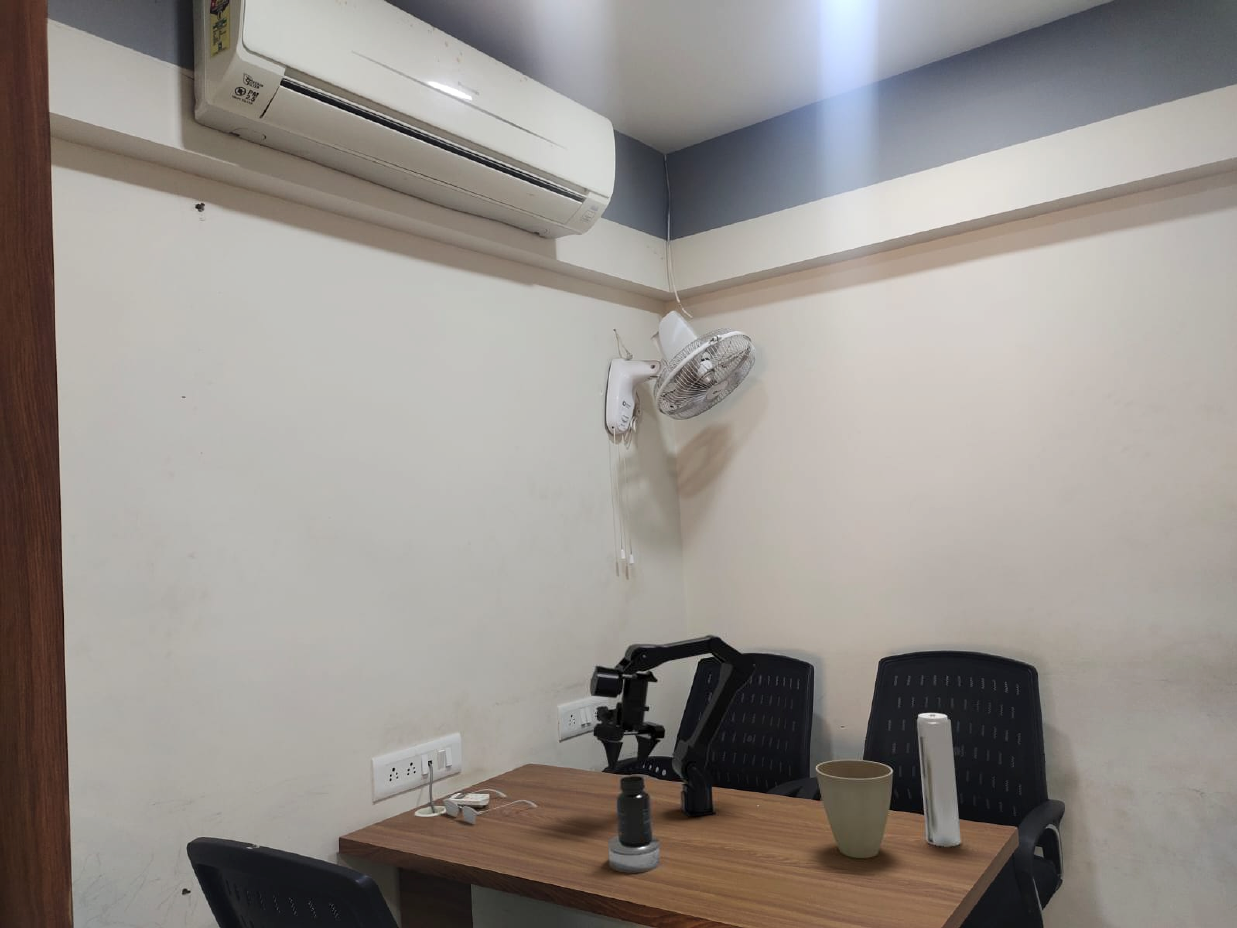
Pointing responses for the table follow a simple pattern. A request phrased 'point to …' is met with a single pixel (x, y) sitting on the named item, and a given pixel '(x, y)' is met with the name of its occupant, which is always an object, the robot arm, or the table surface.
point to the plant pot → (856, 803)
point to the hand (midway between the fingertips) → (625, 769)
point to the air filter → (938, 780)
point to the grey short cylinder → (633, 856)
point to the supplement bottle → (634, 813)
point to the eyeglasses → (468, 812)
